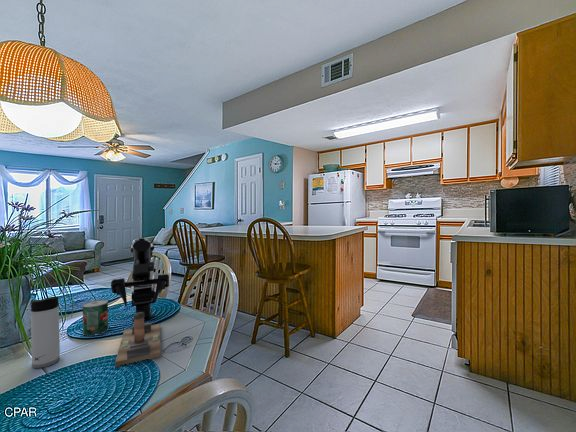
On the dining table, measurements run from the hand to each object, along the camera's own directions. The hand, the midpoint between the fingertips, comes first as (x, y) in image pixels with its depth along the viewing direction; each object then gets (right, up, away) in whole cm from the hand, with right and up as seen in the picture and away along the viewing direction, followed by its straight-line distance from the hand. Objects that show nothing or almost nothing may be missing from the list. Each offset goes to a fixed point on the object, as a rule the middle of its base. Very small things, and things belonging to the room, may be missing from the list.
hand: (140, 304), depth 94 cm
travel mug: (-21, -14, -13) cm, 29 cm away
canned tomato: (-21, -13, +8) cm, 26 cm away
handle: (+5, -11, -9) cm, 15 cm away
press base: (+1, -13, -3) cm, 13 cm away
